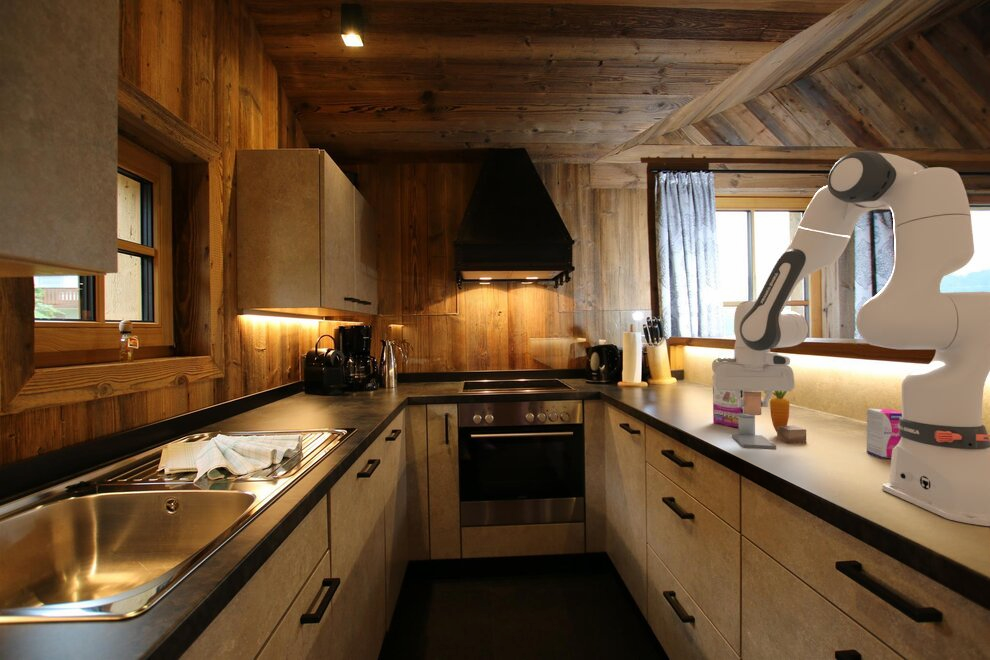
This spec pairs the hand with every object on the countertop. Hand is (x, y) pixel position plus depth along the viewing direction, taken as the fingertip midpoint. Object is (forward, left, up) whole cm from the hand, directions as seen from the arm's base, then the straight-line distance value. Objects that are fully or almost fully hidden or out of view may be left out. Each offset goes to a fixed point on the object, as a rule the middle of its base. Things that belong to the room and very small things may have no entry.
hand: (752, 406), depth 128 cm
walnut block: (+4, -11, -10) cm, 16 cm away
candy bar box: (+23, 0, -11) cm, 25 cm away
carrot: (+10, -10, -10) cm, 17 cm away
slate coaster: (0, 0, -10) cm, 10 cm away
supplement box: (-8, -28, -11) cm, 31 cm away
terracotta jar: (0, 0, -2) cm, 2 cm away
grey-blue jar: (+10, -1, -10) cm, 14 cm away
